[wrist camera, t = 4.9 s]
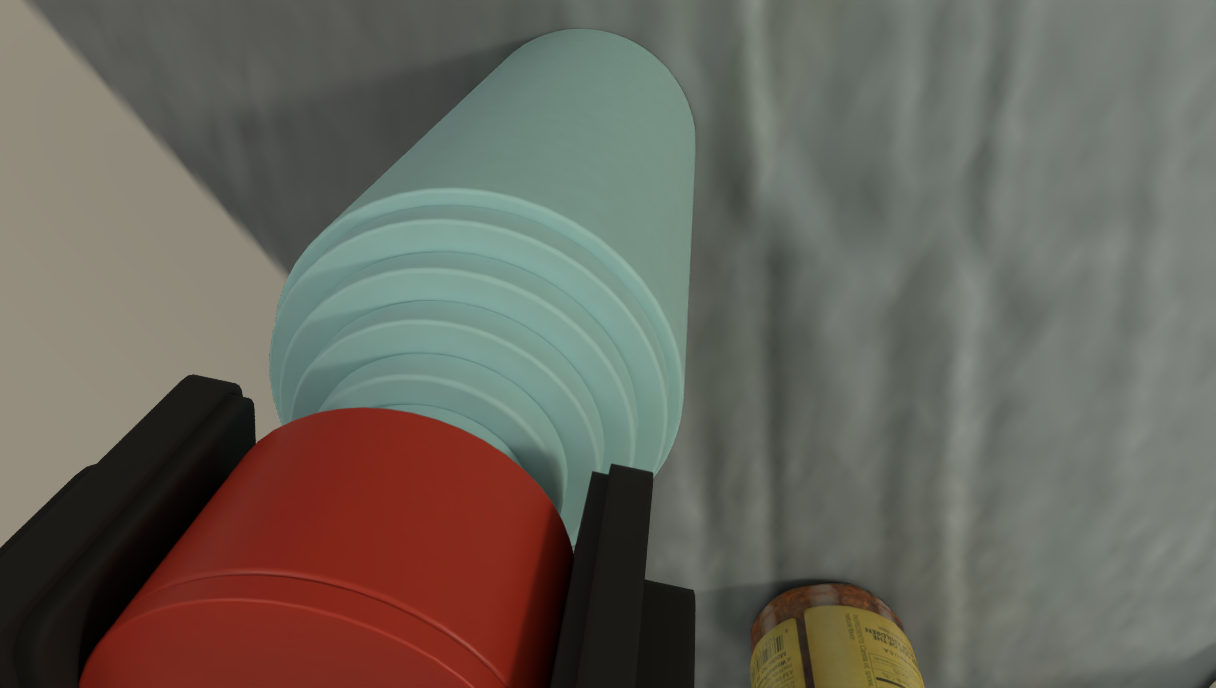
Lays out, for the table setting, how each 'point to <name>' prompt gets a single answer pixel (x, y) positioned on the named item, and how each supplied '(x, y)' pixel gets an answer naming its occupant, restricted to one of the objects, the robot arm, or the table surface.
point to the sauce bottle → (831, 641)
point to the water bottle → (516, 271)
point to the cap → (354, 568)
